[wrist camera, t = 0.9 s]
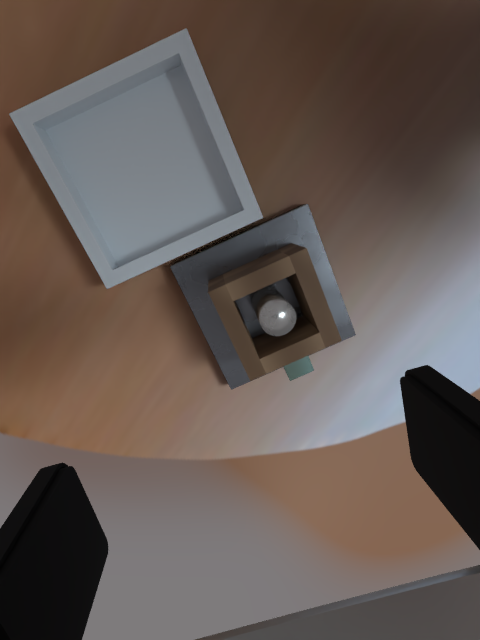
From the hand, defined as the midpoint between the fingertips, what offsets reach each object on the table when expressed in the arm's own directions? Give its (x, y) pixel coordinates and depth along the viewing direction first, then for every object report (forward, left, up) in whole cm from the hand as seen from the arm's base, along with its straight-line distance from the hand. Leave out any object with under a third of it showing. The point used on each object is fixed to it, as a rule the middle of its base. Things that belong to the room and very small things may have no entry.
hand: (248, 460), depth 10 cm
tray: (+1, -11, -20) cm, 23 cm away
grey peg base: (-3, +1, -20) cm, 20 cm away
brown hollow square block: (-3, +1, -19) cm, 19 cm away
